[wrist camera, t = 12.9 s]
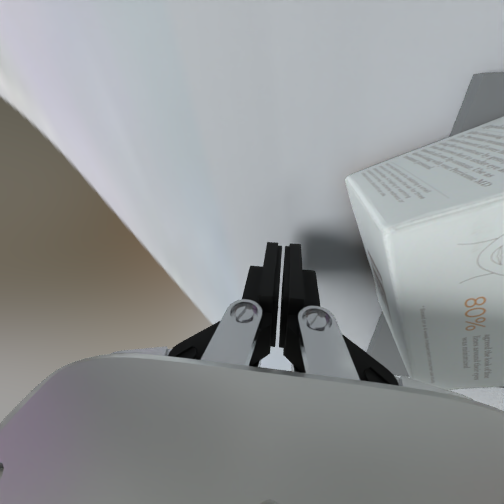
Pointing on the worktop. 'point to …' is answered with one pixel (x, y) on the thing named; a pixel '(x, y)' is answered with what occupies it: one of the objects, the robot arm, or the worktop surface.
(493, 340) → the small box
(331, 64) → the worktop surface
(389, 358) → the mat
